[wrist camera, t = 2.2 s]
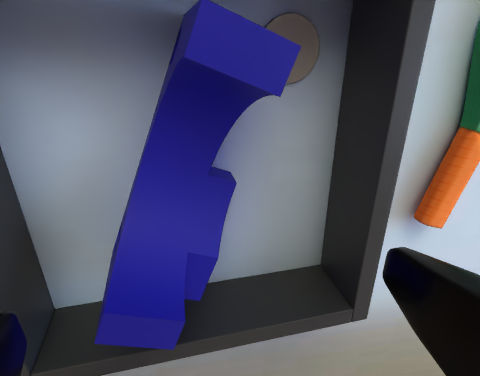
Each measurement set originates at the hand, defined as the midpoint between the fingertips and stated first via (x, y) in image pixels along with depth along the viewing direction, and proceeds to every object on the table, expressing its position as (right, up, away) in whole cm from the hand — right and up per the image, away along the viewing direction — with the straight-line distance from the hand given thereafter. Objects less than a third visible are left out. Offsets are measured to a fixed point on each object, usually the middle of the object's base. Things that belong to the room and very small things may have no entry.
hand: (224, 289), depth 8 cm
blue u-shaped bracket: (-2, +4, +8) cm, 10 cm away
